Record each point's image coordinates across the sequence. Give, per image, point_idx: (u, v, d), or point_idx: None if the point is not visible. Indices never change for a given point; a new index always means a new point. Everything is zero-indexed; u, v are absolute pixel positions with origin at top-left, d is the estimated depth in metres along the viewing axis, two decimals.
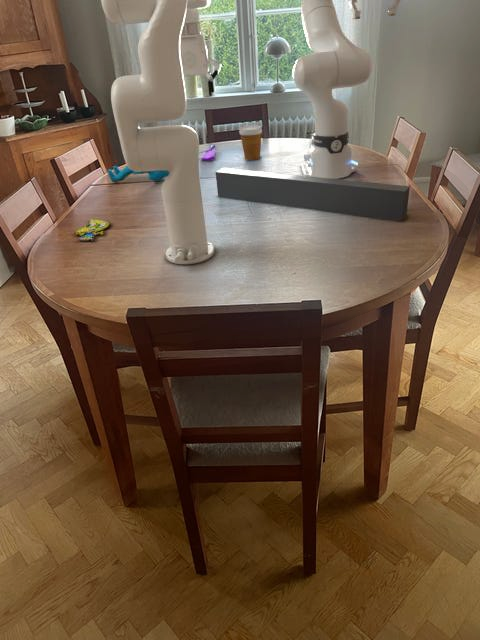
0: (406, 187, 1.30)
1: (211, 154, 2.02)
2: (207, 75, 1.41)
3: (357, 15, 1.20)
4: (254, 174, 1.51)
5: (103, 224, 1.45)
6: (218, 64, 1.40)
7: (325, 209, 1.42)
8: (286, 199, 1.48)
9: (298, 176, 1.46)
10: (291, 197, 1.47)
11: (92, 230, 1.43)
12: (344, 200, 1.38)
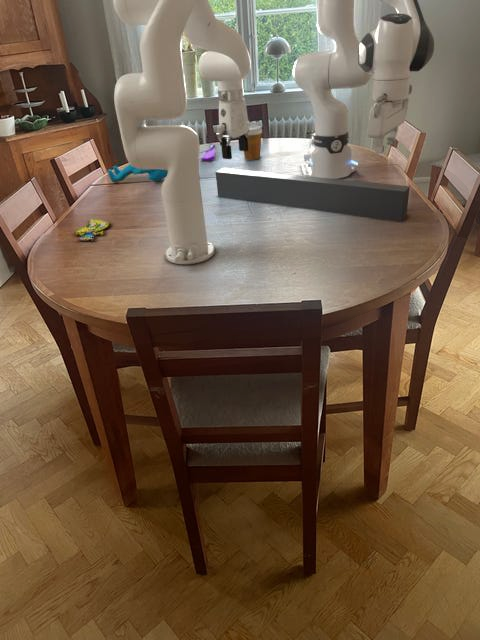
0: (406, 187, 1.30)
1: (211, 154, 2.02)
2: (245, 133, 1.52)
3: None
4: (254, 174, 1.51)
5: (103, 224, 1.45)
6: (248, 122, 1.53)
7: (325, 209, 1.42)
8: (286, 199, 1.48)
9: (298, 176, 1.46)
10: (291, 197, 1.47)
11: (92, 230, 1.43)
12: (344, 200, 1.38)
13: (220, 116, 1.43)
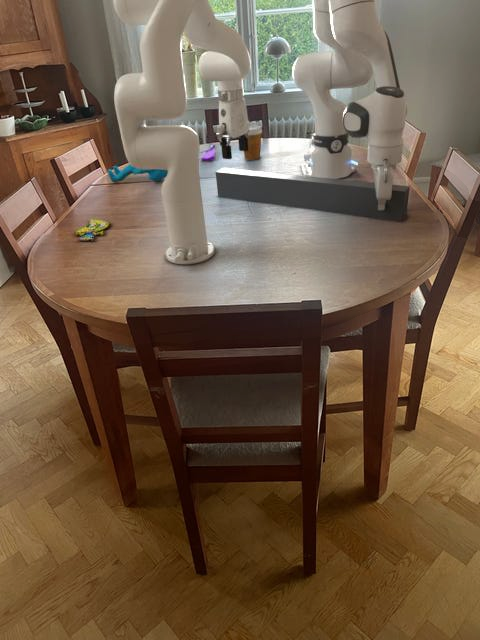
0: (406, 187, 1.30)
1: (211, 154, 2.02)
2: (245, 133, 1.52)
3: None
4: (254, 174, 1.51)
5: (103, 224, 1.45)
6: (248, 122, 1.53)
7: (325, 209, 1.42)
8: (287, 199, 1.48)
9: (298, 176, 1.46)
10: (291, 197, 1.47)
11: (92, 230, 1.43)
12: (344, 200, 1.38)
13: (220, 116, 1.43)
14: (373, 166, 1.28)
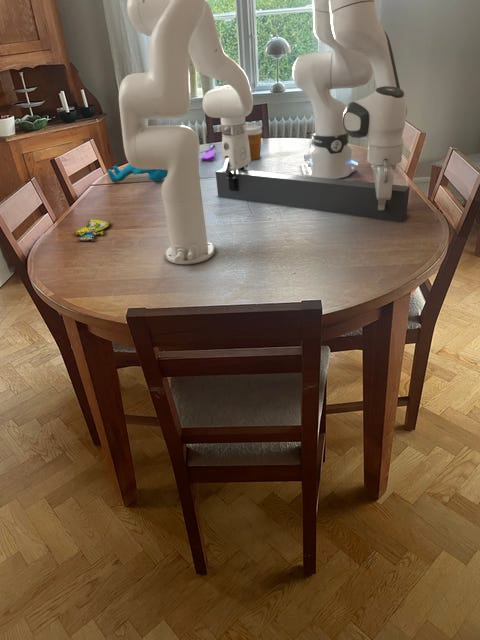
0: (406, 187, 1.30)
1: (211, 154, 2.02)
2: (245, 167, 1.56)
3: None
4: (254, 174, 1.51)
5: (103, 224, 1.45)
6: None
7: (325, 209, 1.42)
8: (286, 199, 1.48)
9: (298, 176, 1.46)
10: (290, 197, 1.47)
11: (92, 230, 1.43)
12: (344, 200, 1.38)
13: (223, 149, 1.48)
14: (373, 166, 1.28)
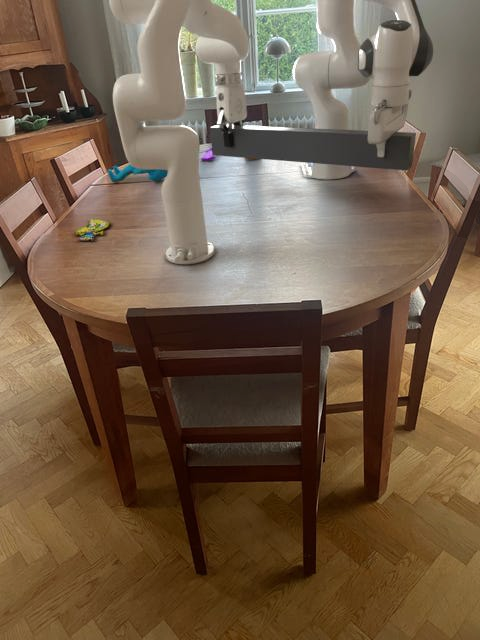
0: (412, 133, 1.23)
1: (211, 154, 2.02)
2: (241, 122, 1.48)
3: None
4: (250, 128, 1.43)
5: (103, 224, 1.45)
6: None
7: (326, 162, 1.35)
8: (285, 153, 1.40)
9: (297, 128, 1.38)
10: (289, 150, 1.39)
11: (92, 230, 1.43)
12: (346, 150, 1.30)
13: (218, 100, 1.40)
14: None
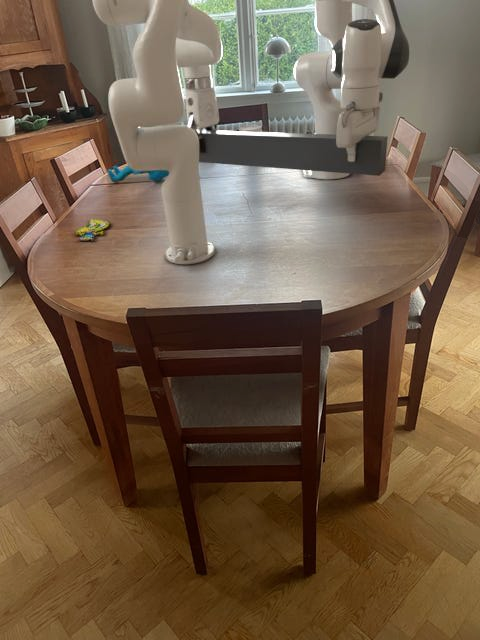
0: (383, 137, 1.18)
1: None
2: (213, 127, 1.44)
3: None
4: (221, 133, 1.39)
5: (103, 224, 1.45)
6: None
7: (297, 167, 1.30)
8: (256, 159, 1.36)
9: (268, 133, 1.34)
10: (260, 155, 1.35)
11: (92, 230, 1.43)
12: (316, 155, 1.26)
13: (187, 105, 1.36)
14: None
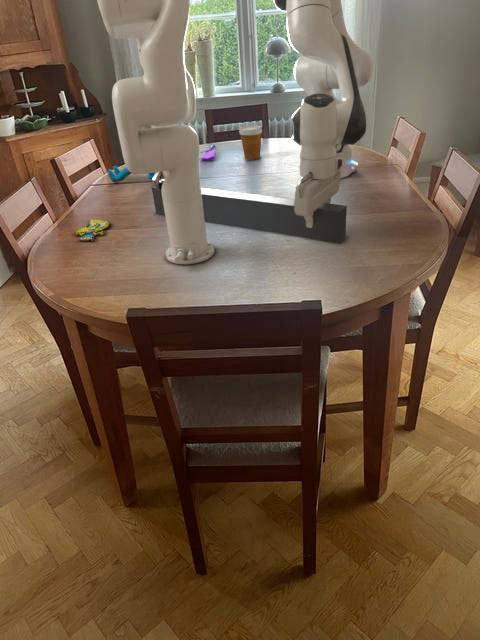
0: (342, 206, 1.21)
1: (211, 154, 2.02)
2: None
3: None
4: None
5: (103, 224, 1.45)
6: None
7: (262, 228, 1.34)
8: (223, 217, 1.39)
9: (234, 193, 1.37)
10: (227, 215, 1.38)
11: (92, 230, 1.43)
12: (280, 219, 1.29)
13: None
14: None
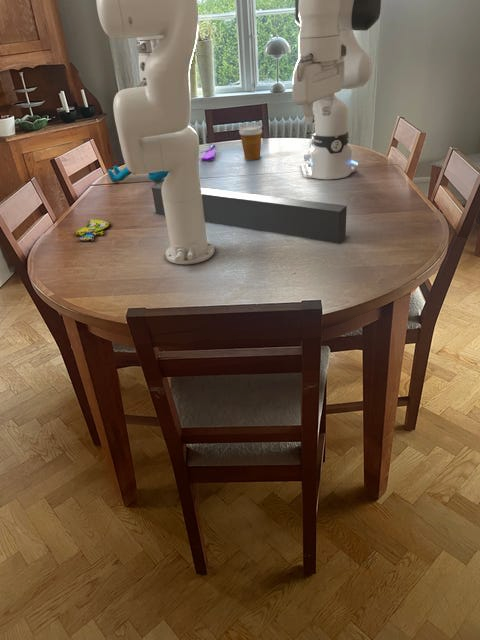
0: (342, 207, 1.21)
1: (211, 154, 2.02)
2: None
3: None
4: None
5: (103, 224, 1.45)
6: None
7: (262, 228, 1.34)
8: (223, 217, 1.39)
9: (234, 193, 1.37)
10: (227, 215, 1.38)
11: (92, 230, 1.43)
12: (280, 219, 1.29)
13: (140, 70, 1.26)
14: None
